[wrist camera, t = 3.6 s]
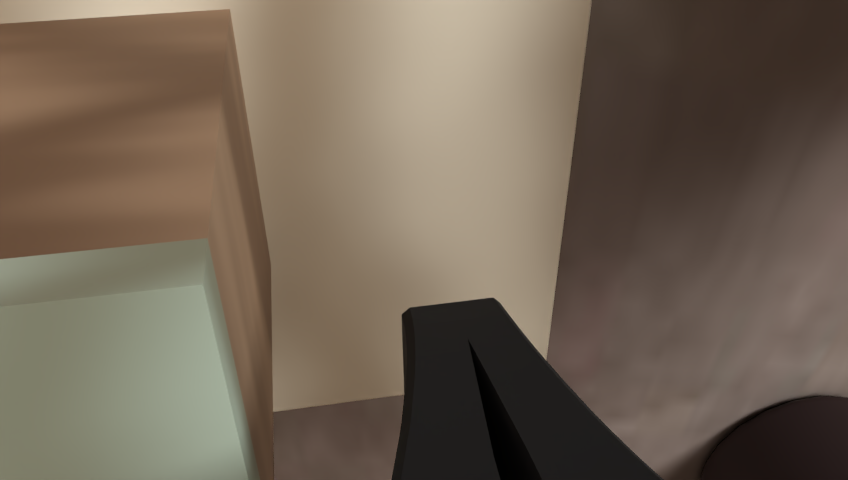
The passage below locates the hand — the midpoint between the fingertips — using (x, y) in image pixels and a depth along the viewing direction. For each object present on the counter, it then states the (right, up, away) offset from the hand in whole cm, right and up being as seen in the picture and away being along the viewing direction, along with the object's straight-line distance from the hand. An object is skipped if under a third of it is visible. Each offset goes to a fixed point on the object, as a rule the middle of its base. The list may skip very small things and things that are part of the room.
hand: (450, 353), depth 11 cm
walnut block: (-6, +3, +4) cm, 8 cm away
